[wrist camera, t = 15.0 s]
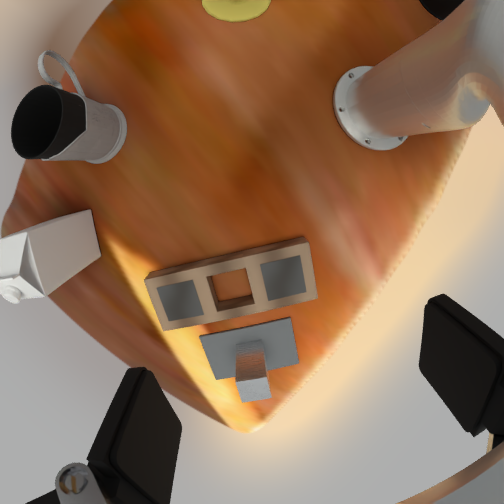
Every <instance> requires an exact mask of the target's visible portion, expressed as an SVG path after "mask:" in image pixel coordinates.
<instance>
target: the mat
mask: <svg viewBox="0 0 504 504" xmlns="http://www.w3.org/2000/svg"><path fill="white" fill-rule="evenodd" d="M199 338H200V340H201V343H202V346H203V348H204V351H205V353H206V356H207V358H208V361H209V363H210V366H211V368H212V371H213V373H214V376H215V378H216V380H218V379H224V378H230V377H236V344H237V343H243V342H249V341H254V340H260V339H262V342H263V347H264V352H265V356H266V362H267V369H268V370H272V369H277V368H281V367H286V366H290V365H294V364H298V363H299V360H298V354H297V349H296V344H295V339H294V333H293V328H292V323H291V318H290V317H287V318H282V319H278V320H274V321H269V322H265V323H260V324H256V325H251V326H246V327H242V328H237V329H232V330H227V331H222V332H217V333H211V334H206V335H200V336H199Z"/></svg>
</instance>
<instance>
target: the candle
mask: <svg viewBox="0 0 504 504" xmlns="http://www.w3.org/2000/svg"><path fill="white" fill-rule="evenodd" d="M270 2H271V0H202V6H203V7H204V9H205V10H206V12H207V13H208V14H209V15H211V16H213V17H215V18H216V19H218V20H223V21H228V22H243V21H248V20H251V19H254V18H257V17H259V16H260V15H261V14H262V13H264V12H265V11H266V10H267V9H268V7H269V4H270Z"/></svg>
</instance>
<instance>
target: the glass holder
mask: <svg viewBox="0 0 504 504" xmlns="http://www.w3.org/2000/svg"><path fill="white" fill-rule="evenodd" d="M45 54H47V55H50V56H51V57H53V58H55V59H56V60H57V61H58V62H59V63H61V65H62V66H63V67H64V68H65V69H66V71H67V72H68V74H69V75H70V77H71V79H72V81H73V83H74V85H75V87H76V89H77V91H78V94H77V93H70V92H67V91H64V90H63V89H62V86H61V84H60V83H59V82H58V81H56V80H54V79H53V78H51V77H50V76H49V75H48V74H47V72H46V71H45V68H44V64H43V59H44V55H45ZM38 69H39V72H40V75H41V76H42V78H43V79H44V80H45V81H46V82H48V83H50V84H52V85H54V86H55V87H53V86H51V85H41V86H38V87H36V88H34V89H33V90H31V91H30V92H29V93H28V94H27V95H26V96H25V97H24V98H23V99H22V101H21V102H20V104H19V106H18V107H17V110H16V112H15V115H14V118H13V122H12V128H11V138H12V143H13V147H14V149H15V151H16V152H17V153H18V154H19V155H20V156H21V157H23V158H25V159H41V160H45V161H46V160H86V161H87V162H90V163H95V164H98V163H103V162H106V161H108V160H110V159H111V158H113V157H114V156H115V155H116V154H117V153H118V152H119V150H120V149H121V147H122V146H123V144H124V141H125V138H126V134H127V123H126V119H125V116H124V114H123V113H122V111H121V110H120V109H119V108H117V107H116V106H114V105H111V104H101V103H99V102H96V101H94V100H91V99H89V98H87V97H86V96H85V94H84V92H83V90H82V87H81V85H80V83H79V81H78V79H77V77H76V75H75V73H74V71H73V69H72V68H71V67H70V65H69V64H68V63H67V62H66V61H65V60H64V58H62V57H61V56H60V55H59V54H57V53H55V52H54V51H51V50H47V51H45V52H43V53H42V54H41V55H40V57H39V60H38Z"/></svg>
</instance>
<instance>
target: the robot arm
mask: <svg viewBox="0 0 504 504" xmlns="http://www.w3.org/2000/svg"><path fill="white" fill-rule="evenodd" d="M349 76H350V78H349ZM490 104H491V105H492V107H493V108H494V110H495V112H496V113H497V115H498V117H499V119H500V121H501V123H502V125H503V126H504V0H464V1H463V2H462V3H461V4H460V5H459V6H458V7H457V8H456V9H455V10H454V11H453V12H452V13H451V14H450V15H449V16H447V17H446V18H445V19H444V20H443V21H441V22H440V23H439V24H438V25H436V26H435V27H433V28H432V29H430V30H429V31H427V32H426V33H425V34H423V35H422V36H420V37H418V38H417V39H415V40H414V41H412V42H411V43H409V44H407V45H406V46H404V47H403V48H401V49H400V50H398V51H397V52H395V53H393V54H392V55H390V56H389V57H387V58H386V59H384V60H383V61H381V62H380V63H379V64H377V65H376V66H374V67H372V66H360V67H356V68H353V69H351V70H349V71H348V72H346V73H345V74H344V75H343V76H342V77H341V78H340V79H339V81H338V82H337V84H336V87H335V89H334V94H333V106H334V111H335V115H336V117H337V120H338V122H339V124H340V125H341V127H342V129H343V130H344V131H345V132H346V134H347V135H348V136H349V137H350V138H351V139H352V140H354V141H355V142H356V143H358V144H359V145H361V146H363V147H366V148H368V149H372V150H390V149H393V148H396V147H398V146H399V145H401V144H402V143H403V142H404V141H405V140H406V139H407V137H408V136H409V135H417V134H424V133H433V132H441V131H451V130H460V129H465V128H469V127H471V126H473V125H475V124H476V123H477V122H479V121H480V120H481V119H482V117H483V116H484V115H485V113H486V111H487V110H488V107H489V105H490ZM339 109H341V112H340V111H339ZM398 138H399V139H398ZM365 140H366V141H367V143H366V142H365ZM419 369H420V371H421V373H422V374H423V376H424V377H425V378H426V379H427V381H428V382H429V383H430V384H431V386H432V387H433V388H434V390H435V391H436V392H437V394H438V395H439V396H440V398H441V399H442V400H443V402H444V403H445V404H446V406H447V407H448V408H449V409H450V411H451V412H452V414H453V415H454V416H455V418H456V419H457V421H458V422H459V423H460V425H461V426H462V428H463V429H464V430H465V431H466V432H470V433H471V434H472V436H473V437H475V436H476V435H478V434H479V433H481V432H482V431H484V430H485V429H487V430H488V431H489V438H488V445H487V452H486V455H484V456H483V457H481V458H480V459H478V460H477V461H475V462H474V463H473V464H471V465H469V466H468V467H466V468H465V469H463V470H461V471H460V472H458V473H456V474H455V475H453V476H451V477H450V478H448V479H446V480H444V481H442V482H441V483H439V484H437V485H435V486H433V487H431V488H429V489H427V490H425V491H423V492H421V493H419V494H417V495H415V496H413V497H410V498H408V499H406V500H404V501H401V502H399V503H397V504H504V339H503V338H502V337H501V336H500V335H498V334H497V333H496V332H495V331H493V330H492V329H491V328H489V327H488V326H487V325H486V324H485V323H483V322H482V321H481V320H479V319H478V318H477V317H475V316H474V315H472V314H471V313H470V312H469V311H467V310H466V309H465V308H463V307H462V306H461V305H459V304H458V303H457V302H455V301H454V300H452V299H451V298H450V297H448V296H447V295H445V294H440V295H438V296H435V297H433V298H430V299H429V300H428V303H427V304H426V305H425V308H424V322H423V333H422V343H421V352H420V360H419ZM181 432H182V425H181V422H180V420H179V418H178V417H177V415H176V414H175V412H174V410H173V408H172V407H171V405H170V403H169V402H168V400H167V398H166V397H165V395H164V393H163V391H162V389H161V387H160V386H159V384H158V382H157V380H156V378H155V376H154V374H153V373H152V372H151V371H148V370H147V369H146V368H145V367H137V368H129V369H128V370H127V371H126V373H125V375H124V377H123V379H122V382H121V384H120V386H119V388H118V390H117V392H116V394H115V396H114V398H113V400H112V403H111V405H110V407H109V409H108V411H107V413H106V416H105V418H104V420H103V422H102V424H101V427H100V429H99V431H98V434H97V436H96V438H95V440H94V443H93V445H92V447H91V450H90V452H89V454H88V457H87V460H88V461H89V462H88V465H87V466H86V465H85V464H82V463H71V464H68V465H66V466H65V467H63V468H62V469H61V470H60V471H59V473H58V474H57V476H56V480H55V486H56V489H55V490H53V491H51V492H49V493H47V494H45V495H43V496H41V497H39V498H36V499H34V500H32V501H30V502H27V503H26V504H170V498H171V492H172V486H173V479H174V473H175V467H176V461H177V454H178V449H179V444H180V437H181Z"/></svg>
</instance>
